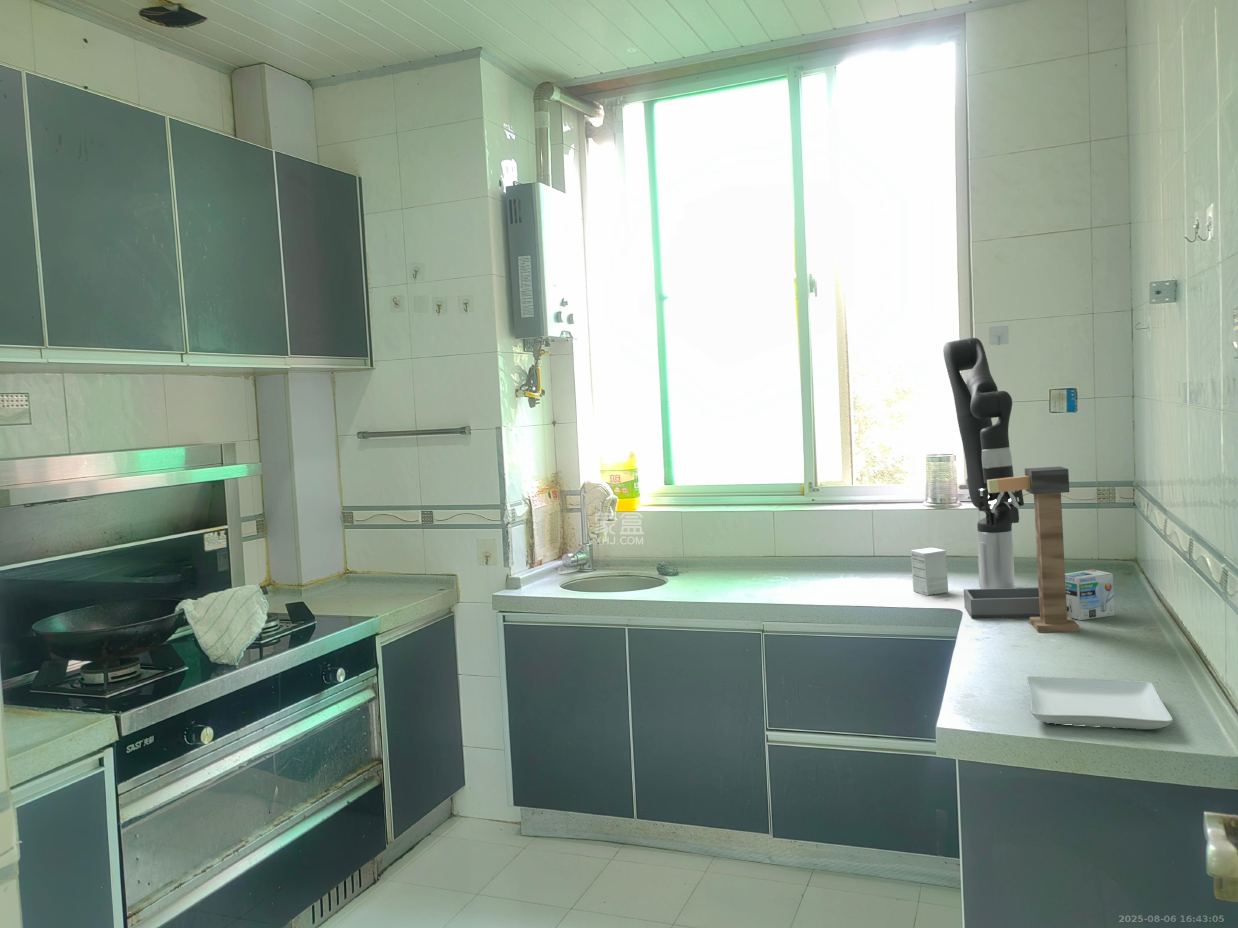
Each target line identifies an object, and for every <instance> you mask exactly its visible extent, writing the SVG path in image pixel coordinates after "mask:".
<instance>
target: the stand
mask: <svg viewBox="0 0 1238 928" xmlns="http://www.w3.org/2000/svg"><path fill="white" fill-rule="evenodd" d="M1026 475H1030V489H1025V492H1028V493H1029V494H1032V495H1033V506H1034V508H1033V509H1034V524H1035V525H1034V526H1035V527H1034V528H1035V540H1036V541H1035V542H1036V543H1035V544H1036V545H1035V546H1036V562H1037V563H1036V564H1037V584H1038V585H1037V587H1039V606H1040V617H1030V618H1029V624H1030V625H1031V626H1032V627H1033V629H1035V631H1036V632H1038V633H1050V632H1051V633H1059V632H1061V633H1063V632H1064V633H1065V632H1067V633H1068V632H1069V633H1070V632H1072V633H1073V632H1074V633H1075V632H1080V625H1079V624H1078V623H1077V622H1076V621H1075V620H1074V618H1070V617H1069V616H1067V604H1066V584H1065V573H1066V567H1065V566H1066V565H1065V547H1064V546H1065V545H1064V529H1063V524H1064V523H1063V510H1062V507H1063V505H1062V504H1063V503H1062V493H1065V494H1066V493H1070V480H1069V479H1070V476H1069V475H1070V474H1069V468H1066V467H1063V466H1048V467H1047V466H1044V467H1029V468H1028V467H1027V468H1024V476H1026Z"/></svg>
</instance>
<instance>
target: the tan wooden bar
mask: <svg viewBox="0 0 1238 928" xmlns="http://www.w3.org/2000/svg"><path fill="white" fill-rule="evenodd" d="M987 486H988V492H989V493H997V492H1006V491H1015V490H1022V491H1023V490H1025V491H1026V489H1030V475H1026V476H1025V475H1017V476H1014V477H1008V478H999V479H990V480H987Z"/></svg>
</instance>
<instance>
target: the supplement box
mask: <svg viewBox="0 0 1238 928" xmlns="http://www.w3.org/2000/svg"><path fill="white" fill-rule="evenodd" d="M910 561H911V562H910V563H911V573H912V590H913V592H914V593H917V592H918V594H921V595H924V594H925V595H924V596H933V594H934V595H938V594H946V593H949V581H948V580H949V579H948V568H947V567H948V565H947V551H946V550H945V549H941V548H936V547H927V548H920V549H918V548H917V549H911V550H910Z"/></svg>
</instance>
